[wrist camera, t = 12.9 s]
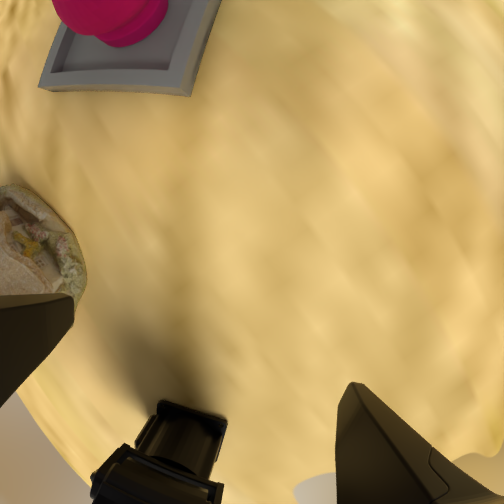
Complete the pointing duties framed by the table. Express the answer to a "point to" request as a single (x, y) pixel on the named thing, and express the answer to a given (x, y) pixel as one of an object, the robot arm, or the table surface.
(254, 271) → the table surface
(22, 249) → the ceramic model
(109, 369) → the table surface
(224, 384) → the table surface
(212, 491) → the robot arm
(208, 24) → the grey tray
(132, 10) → the pepper mill
